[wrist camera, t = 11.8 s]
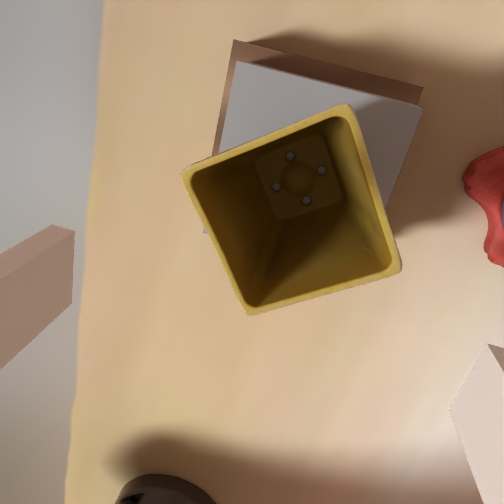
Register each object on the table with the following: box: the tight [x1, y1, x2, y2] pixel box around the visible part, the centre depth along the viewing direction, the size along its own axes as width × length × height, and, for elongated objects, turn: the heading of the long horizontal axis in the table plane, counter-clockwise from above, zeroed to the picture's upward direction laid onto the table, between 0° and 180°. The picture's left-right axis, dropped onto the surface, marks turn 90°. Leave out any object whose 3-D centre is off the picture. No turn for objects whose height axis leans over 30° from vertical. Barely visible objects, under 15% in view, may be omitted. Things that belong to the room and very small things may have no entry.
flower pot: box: [180, 103, 402, 315], centre depth 25 cm, size 9×9×9 cm
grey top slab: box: [203, 61, 424, 234], centre depth 31 cm, size 12×12×5 cm
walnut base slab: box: [212, 40, 423, 156], centre depth 35 cm, size 14×14×5 cm
